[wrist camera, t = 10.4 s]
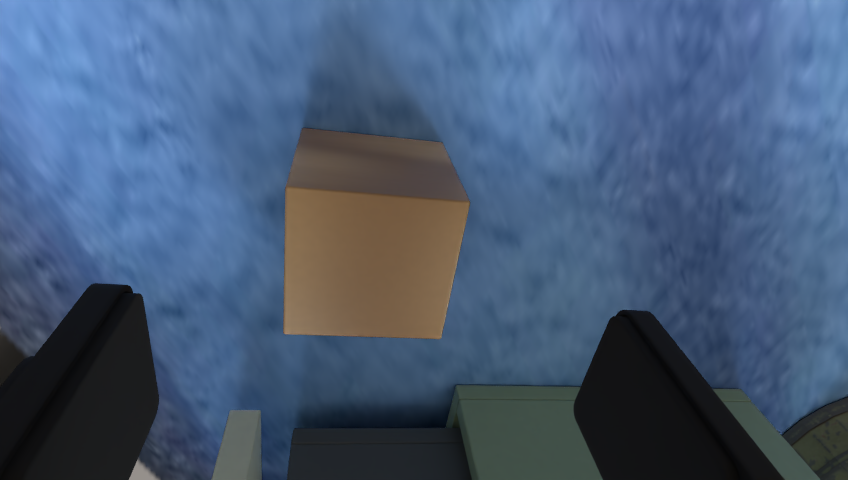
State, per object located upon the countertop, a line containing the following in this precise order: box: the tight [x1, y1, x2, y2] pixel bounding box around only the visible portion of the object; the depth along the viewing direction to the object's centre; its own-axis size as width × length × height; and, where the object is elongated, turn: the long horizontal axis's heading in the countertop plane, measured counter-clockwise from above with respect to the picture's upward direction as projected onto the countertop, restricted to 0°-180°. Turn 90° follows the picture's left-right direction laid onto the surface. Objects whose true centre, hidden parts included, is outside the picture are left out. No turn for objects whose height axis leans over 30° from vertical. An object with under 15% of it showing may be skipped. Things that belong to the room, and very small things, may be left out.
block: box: [283, 128, 470, 339], centre depth 15 cm, size 4×4×4 cm
